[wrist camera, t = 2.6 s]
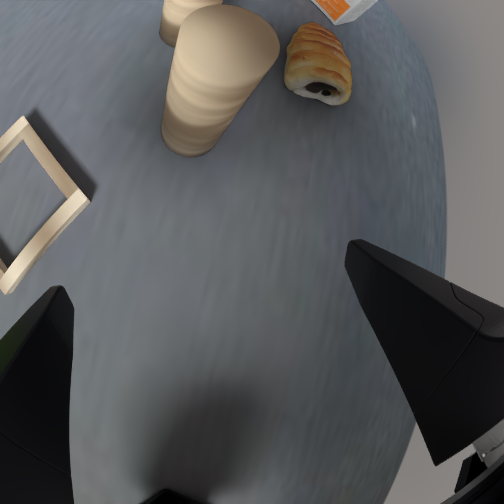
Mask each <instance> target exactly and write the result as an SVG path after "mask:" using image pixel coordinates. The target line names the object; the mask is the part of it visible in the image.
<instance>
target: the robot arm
mask: <svg viewBox="0 0 504 504" xmlns="http://www.w3.org/2000/svg"><path fill="white" fill-rule="evenodd" d="M345 268H346V271H347V273H348V276H349V278H350V281H351V283H352V285H353V288H354V290H355V293H356V295H357V298H358V300H359V303H360V305H361V307H362V309H363V311H364V313H365V315H366V317H367V319H368V321H369V323H370V324H371V326H372V328H373V330H374V332H375V334H376V336H377V338H378V340H379V342H380V344H381V346H382V348H383V350H384V352H385V354H386V356H387V358H388V360H389V362H390V364H391V366H392V369H393V371H394V373H395V375H396V377H397V379H398V381H399V383H400V386H401V388H402V390H403V392H404V394H405V396H406V399H407V401H408V403H409V405H410V408H411V410H412V412H413V413H414V414H413V415H414V417H415V419H416V422H417V424H418V426H419V429H420V431H421V433H422V436H423V438H424V441H425V443H426V445H427V448H428V451H429V453H430V455H431V458H432V461H433V463H434V465H435V466H438V465H439V464H441V463H443V462H444V461H446V460H447V459H449V458H450V457H452V456H454V455H455V454H457V453H458V452H460V451H461V450H463V449H464V448H466V447H467V446H469V445H470V444H473V446H474V448H475V450H476V451H475V452H474V453H473V454H472V455H470V456H469V457H468V458H466V459H465V460H463V463H462V467H461V471H460V474H459V477H458V481H457V484H456V487H455V490H454V492H455V494H454V495H453V496H451V497H450V498H448V499H447V500H445V501H444V502H442V503H441V504H504V308H503V307H501V306H499V305H497V304H495V303H492V302H490V301H488V300H486V299H484V298H482V297H479V296H477V295H475V294H473V293H471V292H469V291H467V290H465V289H463V288H461V287H459V286H457V285H455V284H453V283H451V282H450V283H449V281H447V280H445V279H443V278H442V277H440V276H438V275H436V274H434V273H432V272H430V271H428V270H426V269H424V268H421V267H419V266H417V265H415V264H413V263H411V262H409V261H407V260H405V259H403V258H401V257H399V256H397V255H395V254H392V253H390V252H388V251H386V250H384V249H382V248H380V247H377V246H375V245H373V244H371V243H369V242H367V241H364V240H362V239H357V240H351V241H349V243H348V246H347V251H346V257H345ZM73 331H74V307H73V304H72V302H71V300H70V298H69V296H68V294H67V292H66V290H65V288H64V287H63V286H61V285H59V286H52V287H50V288H49V289H48V290H47V291H46V292H45V293H44V294H43V295H42V296H41V297H40V298H39V299H38V300H37V301H36V302H35V303H34V304H33V305H32V306H31V307H30V308H29V309H28V310H27V311H26V312H25V313H24V315H23V316H22V317H21V318H20V319H19V320H18V321H17V322H16V323H15V324H14V325H13V326H12V327H11V329H10V330H9V331H8V332H7V333H6V334H5V335H4V336H3V338H2V339H1V340H0V504H74V498H73V489H72V479H71V467H70V446H69V408H70V386H71V372H72V360H73ZM145 504H200V503H198V502H196V501H194V500H191V499H189V498H186V497H184V496H182V495H180V494H178V493H175V492H173V491H171V490H169V489H164V490H162V491H161V492H159V493H158V494H157V495H156V496H154V497H153V498H152V499H150V500H149V501H148V502H146V503H145Z"/></svg>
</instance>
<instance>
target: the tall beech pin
mask: <svg viewBox="0 0 504 504" xmlns="http://www.w3.org/2000/svg"><path fill="white" fill-rule="evenodd" d="M279 51H280V44H279V40H278V37H277V35H276V33H275V31H274V30H273V28H272V27H271V26H270V25H269V24H268V23H267V22H266V21H265V20H264V19H263V18H262V17H260V16H259V15H257V14H255V13H253V12H251V11H249V10H247V9H244V8H241V7H237V6H233V5H223V4H219V5H209V6H205V7H202V8H199V9H197V10H195V11H193V12H192V13H190V14H189V15H188V16H187V17H186V18H185V19H184V20H183V22H182V24H181V26H180V30H179V34H178V38H177V43H176V47H175V52H174V57H173V61H172V66H171V71H170V77H169V82H168V87H167V93H166V99H165V105H164V111H163V118H162V125H161V135H162V139H163V141H164V143H165V144H166V146H167V147H168V148H169V149H170V150H171V151H173V152H174V153H176V154H178V155H181V156H184V157H197V156H201V155H204V154H206V153H207V152H209V151H210V150H211V149H212V148H213V147H214V146H215V145H216V143H217V142H218V140H219V139H220V137H221V136H222V134H223V133H224V131H225V130H226V128H227V127H228V125H229V124H230V123H231V121H232V120H233V118H234V117H235V115H236V114H237V113H238V111H239V110H240V108H241V107H242V105H243V104H244V103H245V101H246V100H247V99H248V97H249V96H250V94H251V93H252V92H253V90H254V89H255V88H256V86H257V85H258V84H259V82H260V81H261V80H262V78H263V77H264V76H265V74H266V73H267V72H268V70H269V69H270V68H271V66H272V65H273V64H274V63H275V61H276V60H277V58H278V55H279Z"/></svg>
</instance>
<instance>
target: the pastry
mask: <svg viewBox="0 0 504 504" xmlns="http://www.w3.org/2000/svg"><path fill="white" fill-rule="evenodd" d="M286 52H287V60H286V64H285V71H284V82H285V85H286V87H287V88H288V89H289V90H292V91H293V92H294V93H295V94H298V95H300V96H303V97H308V98H314V99H319V100H321V101H322V102H324V103H327V104H329V105H333V106H334V105H341V104H343V103H345V102H347V101H348V100H349V98H350V94H351V92H352V91H351V85H352V74H351V71H350V67H351V63H350V61H349V60H348V58H347V57H346V56H345V53H344V51H343V48H342V45H341V43H340V42H339V40H338V39H337V38H336V36H335V34H334V33H332V32H331V31H329V30H327V29H325V28H324V27H322V26H320V25H318V24H317V23H315V22H311V23H306V24H303V25H301V26H300V27H299V29H298V31H297V32H296V33H295V34H294V35H293V36H292V39H291V42H290V44H289V45H288V46H287V50H286Z"/></svg>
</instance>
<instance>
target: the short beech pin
mask: <svg viewBox="0 0 504 504" xmlns="http://www.w3.org/2000/svg"><path fill="white" fill-rule="evenodd" d="M222 2H223V0H165V1H164V6H163V12H162V18H161V25H160V31H159V34H160V37H161V39H162V40H163V41H164V42H165V43H166V44H167V45H169V46H171V47H174V48H175V47H176V43H177V38H178V34H179V30H180V26H181V24H182V22H183V20H184V19H185V18H186V17H187V16H188V15H189V14H190V13H192V12H193V11H195V10H197V9H199V8H202V7H205V6H209V5H219V4H222Z"/></svg>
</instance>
